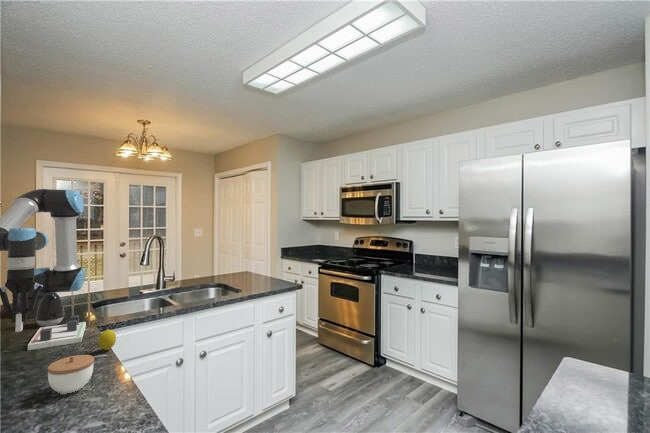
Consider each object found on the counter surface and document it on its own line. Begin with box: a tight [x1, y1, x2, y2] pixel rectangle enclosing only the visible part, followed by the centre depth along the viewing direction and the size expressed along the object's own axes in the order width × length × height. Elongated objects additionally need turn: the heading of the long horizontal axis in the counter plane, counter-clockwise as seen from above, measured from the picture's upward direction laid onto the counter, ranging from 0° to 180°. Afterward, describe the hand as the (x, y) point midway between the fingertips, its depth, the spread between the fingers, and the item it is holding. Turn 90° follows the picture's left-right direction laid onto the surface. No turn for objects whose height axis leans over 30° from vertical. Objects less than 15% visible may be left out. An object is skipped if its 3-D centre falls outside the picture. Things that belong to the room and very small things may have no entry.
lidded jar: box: [47, 354, 95, 395], centre depth 93 cm, size 11×11×9 cm
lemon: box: [98, 328, 117, 351], centre depth 120 cm, size 6×6×8 cm
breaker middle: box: [66, 320, 77, 331], centre depth 135 cm, size 3×3×4 cm
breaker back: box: [69, 314, 80, 325], centre depth 142 cm, size 3×3×4 cm
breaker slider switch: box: [40, 328, 52, 341], centre depth 124 cm, size 3×3×4 cm
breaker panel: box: [27, 321, 87, 351], centre depth 133 cm, size 22×16×2 cm
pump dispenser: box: [34, 292, 66, 327], centre depth 147 cm, size 10×10×15 cm
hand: (19, 330), depth 120 cm, fingers closed
